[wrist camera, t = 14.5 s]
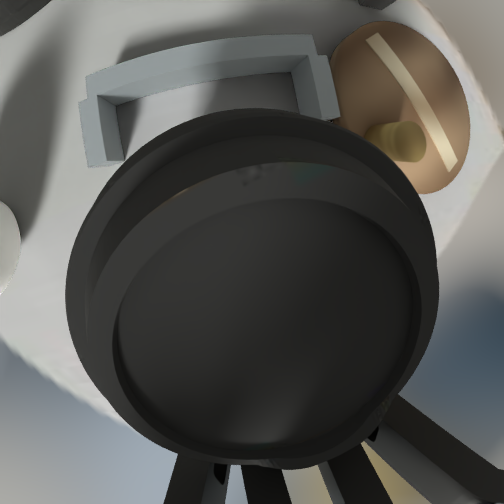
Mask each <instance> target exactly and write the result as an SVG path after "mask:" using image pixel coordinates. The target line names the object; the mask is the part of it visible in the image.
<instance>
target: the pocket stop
mask: <svg viewBox="0 0 504 504" xmlns="http://www.w3.org/2000/svg"><path fill="white" fill-rule="evenodd" d="M279 72H291V75H292V79H293V84H294V88H295V93H296V98H297V103H298V108H299V113H300V114H301V115H305V116H309V117H313V118H317V119H321V120H324V121H327V120H331V119H334V118H338V117H341V116H340V111H339V106H338V101H337V96H336V92H335V87H334V83H333V78H332V74H331V70H330V66H329V62H328V58H327V55H318V54H317V51H316V47H315V43H314V40H313V36H312V35H308V34H277V35H257V36H244V37H235V38H226V39H219V40H212V41H206V42H200V43H194V44H189V45H184V46H180V47H175V48H171V49H167V50H163V51H159V52H155V53H151V54H148V55H144V56H141V57H137V58H134V59H131V60H128V61H125V62H122V63H119V64H116V65H113V66H111V67H108V68H105V69H103V70H100V71H98V72H95V73H93V74H90V75H88V76H86V89H87V99H86V100H83V101H81V102H79V112H80V120H81V128H82V135H83V141H84V147H85V153H86V158H87V163H88V168H91V167H105V166H111V165H114V164H117V163H120V162H123V161H125V160H124V155H123V149H122V144H121V138H120V133H119V127H118V120H117V114H116V107H115V106H117V105H119V104H122V103H125V102H128V101H132V100H135V99H138V98H141V97H145V96H148V95H152V94H155V93H159V92H163V91H166V90H170V89H175V88H179V87H183V86H188V85H192V84H197V83H202V82H207V81H213V80H219V79H225V78H232V77H239V76H247V75H256V74H266V73H279Z"/></svg>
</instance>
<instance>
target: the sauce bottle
mask: <svg viewBox="0 0 504 504" xmlns="http://www.w3.org/2000/svg"><path fill="white" fill-rule="evenodd" d="M20 252H21V238H20V231H19V227H18V224H17V221H16V218H15V216H14V214H13V212H12V211H11V210H10V208H9V207H8V206H7V205H6V204H4V203H3V202H1V201H0V295H1V294H2V292H3V291H4V290H5V288H6V287H7V286H8V284H9V282H10V280H11V278H12V276H13V274H14V272H15V270H16V267H17V264H18V260H19V256H20Z"/></svg>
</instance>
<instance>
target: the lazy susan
mask: <svg viewBox="0 0 504 504" xmlns="http://www.w3.org/2000/svg"><path fill="white" fill-rule="evenodd" d="M329 66H330V70H331V74H332V78H333V83H334V87H335V92H336V96H337V101H338V106H339V111H340V116H341V117H338V118H334V119H332V120H333V123H334V124H336V125H339V126H341V127H343V128H346V129H348V130H350V131H352V132H354V133H356V134H358V135H359V136H361V137H363V138H364V139H366V140H368V141H369V142H371V143H372V144H374V145H375V146H376V147H378V148H379V149H380V150H381V151H383V152H384V153H385V154H386V155H387V156H388V157H389V158H391V159H392V160H393V161H394V162H395V163H396V165H397V166H398V167H399V168H400V169H401V170H402V171H403V173H404V174H405V175H406V176H407V178H408V179H409V181H410V182H411V183H412V185H413V187H414V188H415V190H416V191H417V193H418V194H428V193H433V192H436V191H439V190H441V189H443V188H444V187H446V186H447V185H448V184H449V183H451V182H452V181H453V179H454V178H455V177H456V176H457V174H458V173H459V171H460V170H461V168H462V166H463V164H464V161H465V158H466V155H467V152H468V147H469V140H470V117H469V110H468V105H467V101H466V97H465V94H464V91H463V88H462V86H461V84H460V81H459V79H458V77H457V75H456V73H455V71H454V70H453V68H452V66H451V65H450V63H449V62H448V60H447V59H446V58H445V56H444V55H443V54H442V53H441V52H440V50H439V49H438V48H437V47H436V46H435V45H434V44H433V43H432V42H430V41H429V40H428V39H427V38H426V37H424V36H423V35H421V34H420V33H418V32H417V31H415V30H413V29H411V28H409V27H407V26H405V25H402V24H399V23H395V22H389V21H376V22H372V23H368V24H366V25H363V26H361V27H360V28H358V29H357V30H356V31H354V32H353V33H352V34H350V35H349V36H347V37H346V38H345V39H343V40H342V41H341V43H340V44H339V45H338V46H337V47H336V49H335V51H334V52H333V54H332V57H331V59H330V62H329Z"/></svg>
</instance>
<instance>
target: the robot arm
mask: <svg viewBox="0 0 504 504" xmlns="http://www.w3.org/2000/svg"><path fill="white" fill-rule="evenodd" d="M49 1H50V0H0V36H2V35H4V34H6V33H7V32H9V31H11V30H12V29H14V28H16V27H17V26H19V25H20V24H21V23H23V22H24V21H26V20H27V19H28V18H30V17H31V16H32V15H33V14H35V13H36V12H37V11H38V10H40V9H41V8H42V7H43V6H44V5H46V4H47V3H48V2H49ZM364 441H365V442H366V443H367V444H368V445H369V446H370V447H371V448H372V449H373V450H374V451H375V452H376V453H377V454H378V455H379V456H380V457H381V458H382V459H383V460H384V461H385V462H386V463H387V464H389V465H390V466H391V467H392V468H393V469H394V470H395V471H396V472H397V473H398V474H399V475H400V476H401V477H402V478H404V479H405V480H406V481H407V482H408V483H409V484H410V485H411V486H413V488H415V489H416V490H417V491H418V492H419V493H420V494H421V495H422V496H424V497H425V498H426V499H427V500H428V501H429V502H430V503H432V504H504V470H501V469H497V468H496V467H495V466H493V465H492V464H491V463H489V462H488V461H486V460H485V459H484V458H482V457H481V456H479V455H478V454H477V453H475V452H474V451H473V450H471V449H470V448H468V447H467V446H466V445H464V444H463V443H462V442H460V441H459V440H458V439H456V438H455V437H454V436H452V435H451V434H449V433H448V432H447V431H445V430H444V429H443V428H441V427H440V426H439V425H437V424H436V423H435V422H434V421H432V420H431V419H430V418H428V417H427V416H426V415H424V414H423V413H422V412H420V411H419V410H418V409H416V408H415V407H414V406H412V405H411V404H410V403H408V402H407V401H406V400H405V399H403V398H402V397H401V396H400V395H398V394H397V395H396V397H395V398H394V399H393V400H392V402H391V404H390V407H389V409H388V410H387V412H386V413H385V415H384V417H383V419H382V420H381V422H380V424H379V425H378V427H377V428H376V429H375V430H374V431H373V433H372V434H371V435H370V436H369V437H367V438H366V439H365V440H364ZM230 466H231V465H230V464H219V463H211V462H206V461H201V460H197V459H193V458H189V457H186V456H183V455H180V454H178V456H177V459H176V463H175V466H174V470H173V473H172V476H171V480H170V483H169V487H168V490H167V494H166V497H165V500H164V504H225V499H226V493H227V486H228V479H229V473H230ZM318 467H319V470H320V472H321V474H322V477H323V479H324V482H325V485H326V487H327V490H328V492H329V495H330V497H331V500H332V502H333V504H393V503H392V501H391V499H390V497H389V495H388V493H387V491H386V490H385V488H384V486H383V484H382V482H381V480H380V478H379V477H378V475H377V473H376V471H375V469H374V467H373V465H372V464H371V462H370V460H369V458H368V456H367V454H366V452H365V451H364V449H363V447H362V445H361V443H360V444H359V445H357V446H355V447H354V448H352V449H350V450H348V451H347V452H345V453H343V454H341V455H339V456H337V457H334V458H332V459H330V460H328V461H325V462H323V463H320V464H318ZM241 470H242V475H243V480H244V486H245V490H246V495H247V500H248V504H292V502H291V500H290V496H289V493H288V490H287V486H286V483H285V480H284V476H283V473H282V470H281V469H276V468H270V467H263V466H260V465H241Z"/></svg>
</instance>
